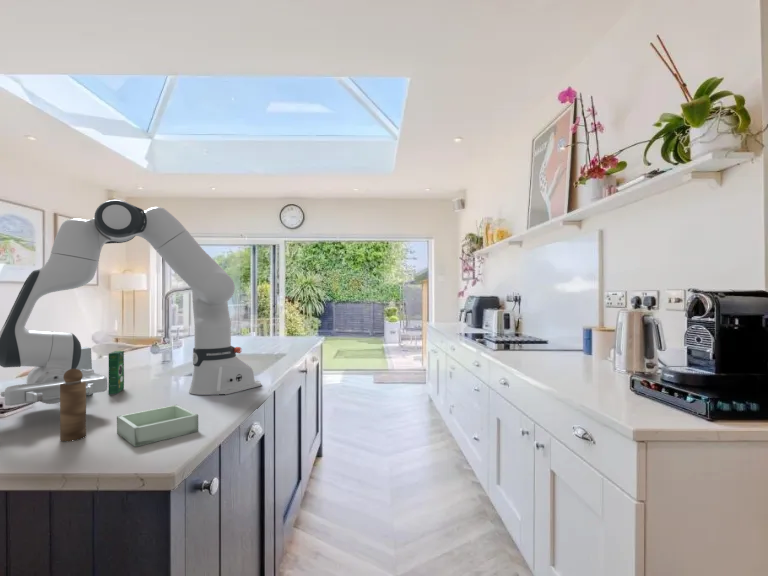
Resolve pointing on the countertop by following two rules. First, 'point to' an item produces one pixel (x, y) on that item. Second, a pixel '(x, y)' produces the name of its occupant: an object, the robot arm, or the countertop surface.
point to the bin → (156, 424)
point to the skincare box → (85, 360)
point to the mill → (72, 406)
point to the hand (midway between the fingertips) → (64, 394)
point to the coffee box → (116, 372)
